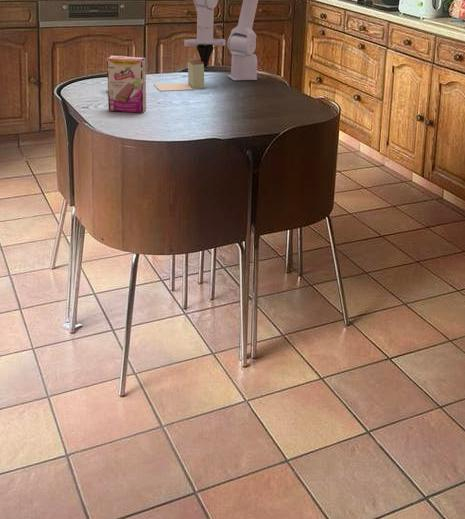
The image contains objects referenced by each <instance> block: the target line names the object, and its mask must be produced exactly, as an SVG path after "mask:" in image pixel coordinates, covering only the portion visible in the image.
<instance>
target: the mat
mask: <svg viewBox="0 0 465 519" xmlns="http://www.w3.org/2000/svg"><path fill="white" fill-rule="evenodd" d="M153 86H154V87H155V88H156V90H158V91H159V92H175V91H176V92H178V91H194V89H193V88H192V87H191V86H189V84H188V83H187V82H176V83H175V82H172V83H171V82H170V83H153Z"/></svg>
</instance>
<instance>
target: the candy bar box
mask: <svg viewBox="0 0 465 519" xmlns="http://www.w3.org/2000/svg"><path fill="white" fill-rule="evenodd" d="M106 67H107V68H106V69H107V71H106V72H107V73H106V74H107V99H108V106H107V107H108V112H120V113H137V114H143V113H144V112H145V111H146V110H147V81H146V80H147V78H146V73H147V71H146V69H147V68H146V67H147V66H146V58H145V57H137V56H127V57H125V56H110V55H109V57H107V58H106Z"/></svg>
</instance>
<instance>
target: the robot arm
mask: <svg viewBox="0 0 465 519" xmlns="http://www.w3.org/2000/svg"><path fill="white" fill-rule="evenodd" d="M218 2H219V0H193V4H194V7H195V12H196V38H192V39H184V41H183V43H184V44H183V46H184V47H196V49H197V52H198V55H199V57H200V60H201V61H202V62H204V68H208V64H209V61H210V58H211V55H212V53H213V51H214V48H215V47H214V46H227V49H228V50H229V51H230V54H231V65H230V66H231V68H230V74H227V77H228V78H229V79H231V80H232V81H257V80H258V78H257V77H258V57H257V55H256V54H255V51H256V48H257V42H256V41H257V34H256V33H255V31H254V30H253V26H254V21H255V17H256V12H257V8H258V3H259V0H242V4H241V9H240V12H239V13H240V14H239V18H238V23H237V26H235V27H234V28H233V29H231V32H230V35H229V37H228V39H227V41H226V39H224V38H214V18H215V16H214V14H215V13H214V12H215V10H214V9H215V8H216V7H217V5H218ZM226 42H227V43H226Z"/></svg>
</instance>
